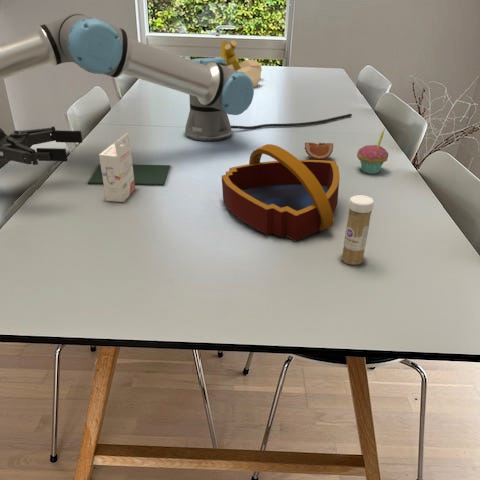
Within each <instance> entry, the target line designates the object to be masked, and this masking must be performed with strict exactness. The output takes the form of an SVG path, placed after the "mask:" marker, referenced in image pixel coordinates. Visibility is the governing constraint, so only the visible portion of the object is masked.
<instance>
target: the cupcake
mask: <svg viewBox="0 0 480 480" xmlns="http://www.w3.org/2000/svg"><path fill="white" fill-rule="evenodd" d="M385 130H386V128H384V129H383V130H382V131H381V133H380V136H379V139H378V142H377V144H367V145H364V146H362V147H360V148H359V149H358V151H357V152H356V157H357V159H358V160H359V161H360V166H361V171H362V172H363V173H366V174H373V175H374V174H377V173H379V172H380V170H381V169H382V166H383V164H384V163H385V162H387V161H388V158H389V152H388V151H387V149H386V148H384V147H383V146H381V143H382V140H383V137H384V135H385Z"/></svg>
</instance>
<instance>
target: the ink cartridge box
mask: <svg viewBox="0 0 480 480" xmlns="http://www.w3.org/2000/svg"><path fill="white" fill-rule="evenodd" d="M122 142H124V143H123V144H122ZM98 157H99V164H100V165H101V171H102V177H103V184H102V185H103V189H104V196H105V201H106V202H116V203H124V202H125V201H126V200H128V198H129V197H130V196H131V195H132V194H133V193H134V192H135V190H136V185H135V183H134V173H133V157H132V146H131V142H130V136H129V133H128V132H126V133H125V134H124V135H122V136H120V138H118V140H116V141H115V142H114V143H112V144H111V145H109V146H108V147H106V148H105V149H104V150H103V151H102V152H100V153H99V154H98Z"/></svg>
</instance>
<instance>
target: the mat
mask: <svg viewBox="0 0 480 480" xmlns="http://www.w3.org/2000/svg"><path fill="white" fill-rule="evenodd" d="M132 164H133V163H132ZM170 169H171V164H135V163H134V164H133V173H134V183H135V186H165V183H166V179H167V177H168V173H169V172H170ZM87 184H88V185H104V184H103V177H102V171H101V165H100V163H99V164H98V166H97V167H96V169H95V170H94V172H93V173H92V175H91V177H90V178H89V180H88V181H87Z"/></svg>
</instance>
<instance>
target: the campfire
mask: <svg viewBox="0 0 480 480" xmlns="http://www.w3.org/2000/svg"><path fill="white" fill-rule="evenodd" d="M220 45H221V50H220V56H219V57H218V58H224V59H225V60H226V64H227V65H226V67H228V68H231V69H233V70H236V71H239V72H243V73H245V74H246V75H247V76H248V77H249V78H250V79H251V81H252V84H253V87H254V88H257V86H258V85H259V83H260V81H261V78H262V72H263V71H262V64H261V63H259V62H258V61H257V60H255V59H246V60H243V61H241V63H240V62H239V57H238V56H237V55H236V53H235V49H236V48H237V45H238V44H237V41H236V40H234V39H232V40H230V42H229V43H228V41H227V40H222V41H221V44H220ZM197 59H201V57H198V58H197Z"/></svg>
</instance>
